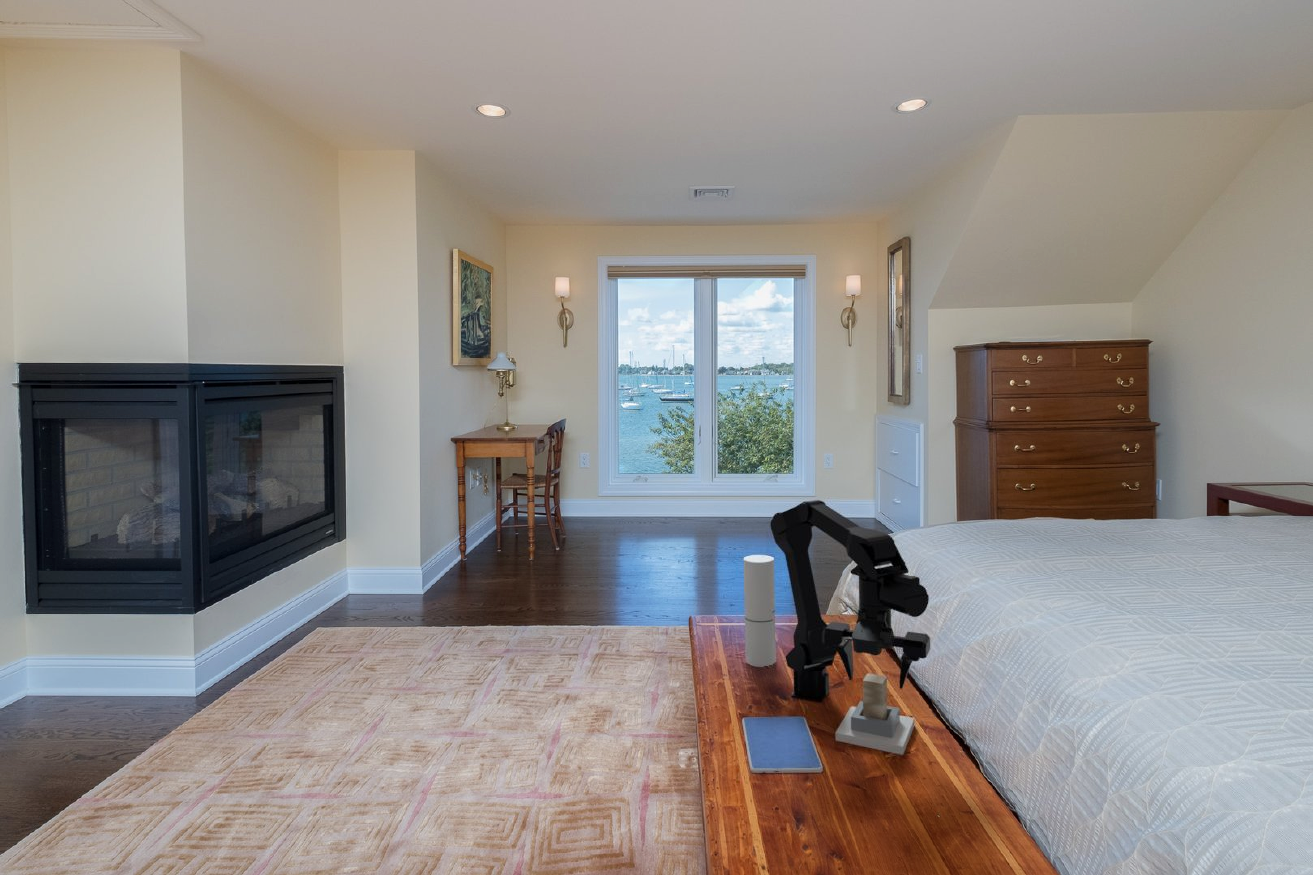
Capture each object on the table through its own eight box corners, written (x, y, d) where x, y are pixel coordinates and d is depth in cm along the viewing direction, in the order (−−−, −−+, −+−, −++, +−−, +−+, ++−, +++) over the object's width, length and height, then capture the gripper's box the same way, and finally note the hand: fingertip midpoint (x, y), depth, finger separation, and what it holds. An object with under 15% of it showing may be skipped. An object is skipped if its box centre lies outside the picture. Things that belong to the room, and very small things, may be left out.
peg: (863, 726, 134) (862, 680, 133) (867, 718, 137) (867, 673, 137) (882, 730, 132) (882, 683, 132) (887, 722, 135) (886, 676, 135)
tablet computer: (824, 775, 122) (824, 767, 122) (750, 775, 122) (750, 768, 122) (805, 721, 141) (805, 715, 141) (741, 722, 142) (741, 716, 142)
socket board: (835, 740, 132) (835, 719, 132) (851, 713, 143) (851, 693, 143) (902, 754, 127) (902, 733, 126) (914, 725, 137) (914, 705, 137)
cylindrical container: (780, 658, 172) (778, 556, 170) (769, 668, 166) (767, 563, 164) (752, 653, 176) (750, 553, 174) (741, 663, 170) (738, 560, 168)
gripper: (813, 608, 130) (814, 691, 131) (920, 621, 121) (921, 710, 122) (829, 592, 140) (831, 669, 141) (930, 603, 131) (931, 685, 132)
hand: (875, 683), depth 134 cm, fingers open, 9 cm apart
